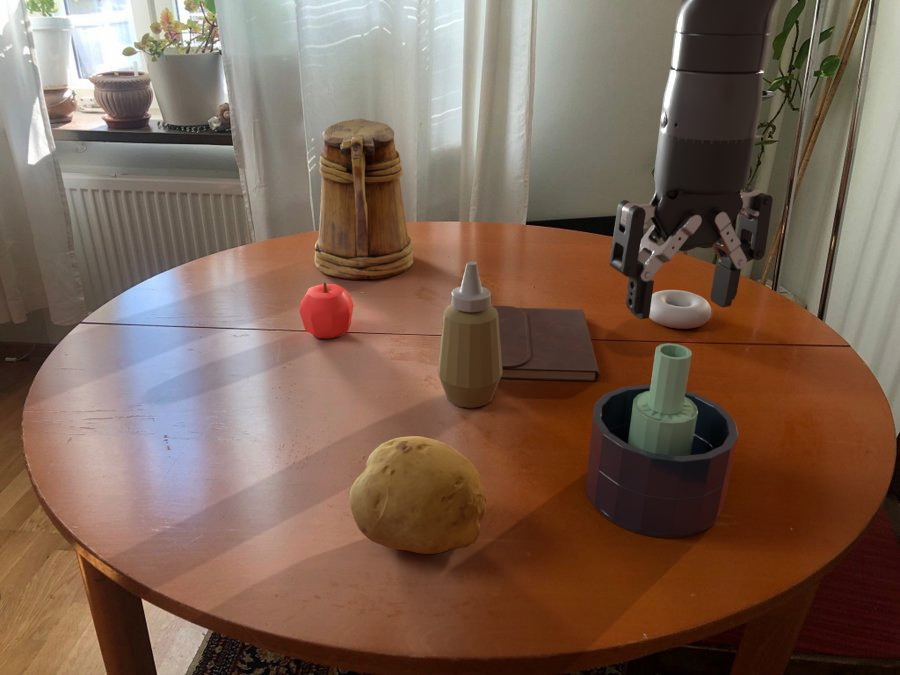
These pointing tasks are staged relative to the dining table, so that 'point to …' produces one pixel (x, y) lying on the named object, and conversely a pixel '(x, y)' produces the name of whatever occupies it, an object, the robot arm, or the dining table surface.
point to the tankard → (361, 203)
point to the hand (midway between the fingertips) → (680, 309)
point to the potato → (418, 497)
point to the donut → (679, 309)
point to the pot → (659, 470)
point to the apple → (326, 310)
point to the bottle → (665, 406)
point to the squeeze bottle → (470, 344)
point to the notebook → (546, 344)
